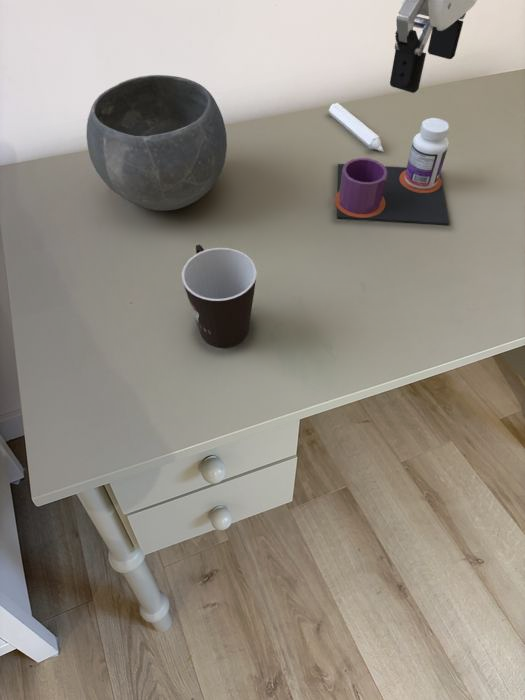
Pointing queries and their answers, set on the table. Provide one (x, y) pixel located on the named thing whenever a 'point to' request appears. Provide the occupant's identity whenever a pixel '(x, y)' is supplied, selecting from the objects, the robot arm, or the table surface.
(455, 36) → the robot arm
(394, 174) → the placemat
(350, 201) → the cup
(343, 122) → the white pencil
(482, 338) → the table surface
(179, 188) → the bowl
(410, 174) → the pill bottle
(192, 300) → the coffee mug
